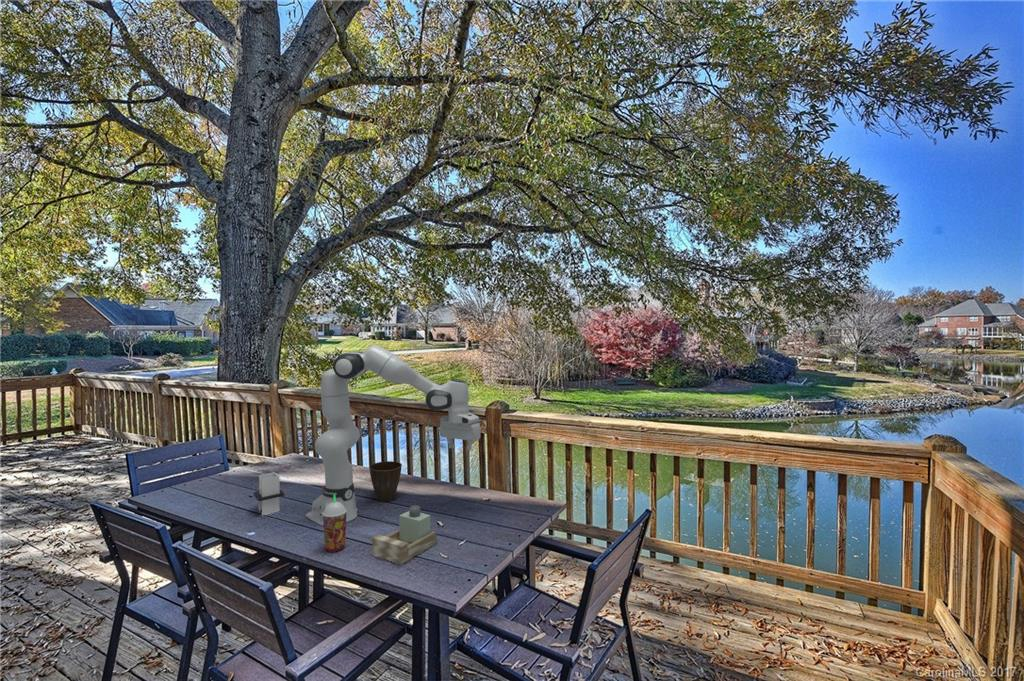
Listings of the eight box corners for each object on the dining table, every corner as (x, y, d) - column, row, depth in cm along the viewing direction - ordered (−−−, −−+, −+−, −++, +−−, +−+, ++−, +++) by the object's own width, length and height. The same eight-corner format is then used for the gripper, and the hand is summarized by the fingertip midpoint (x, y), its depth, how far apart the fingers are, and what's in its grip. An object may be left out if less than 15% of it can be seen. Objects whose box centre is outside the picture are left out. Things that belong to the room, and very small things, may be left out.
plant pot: (406, 493, 229) (406, 461, 229) (395, 505, 215) (395, 470, 214) (376, 493, 231) (376, 460, 230) (364, 504, 216) (364, 470, 216)
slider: (399, 539, 176) (399, 507, 175) (410, 533, 181) (410, 502, 181) (419, 545, 171) (419, 512, 170) (430, 538, 176) (430, 507, 176)
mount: (372, 555, 167) (372, 537, 167) (409, 535, 183) (409, 518, 183) (401, 565, 160) (401, 546, 160) (437, 543, 176) (437, 526, 176)
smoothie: (319, 548, 172) (318, 494, 172) (341, 541, 178) (340, 489, 178) (328, 556, 167) (328, 500, 166) (351, 548, 172) (350, 494, 172)
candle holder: (231, 511, 209) (230, 474, 209) (289, 498, 226) (288, 464, 225) (244, 528, 191) (243, 489, 190) (306, 513, 207) (306, 476, 206)
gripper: (435, 416, 203) (436, 448, 204) (473, 420, 192) (474, 453, 192) (445, 413, 208) (446, 444, 209) (482, 417, 197) (483, 450, 198)
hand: (460, 449), depth 200 cm, fingers open, 8 cm apart
